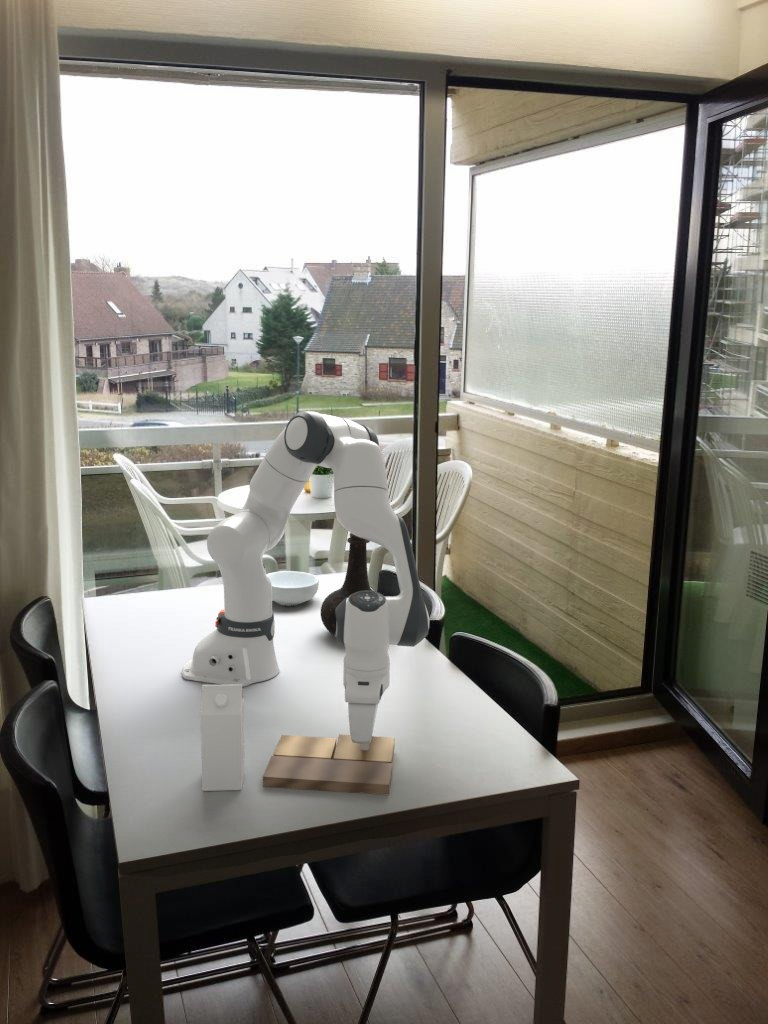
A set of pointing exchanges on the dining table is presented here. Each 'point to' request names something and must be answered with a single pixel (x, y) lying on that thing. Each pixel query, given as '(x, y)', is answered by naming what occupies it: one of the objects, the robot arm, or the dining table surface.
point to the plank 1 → (306, 747)
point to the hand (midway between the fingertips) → (365, 742)
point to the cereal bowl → (292, 587)
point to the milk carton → (222, 737)
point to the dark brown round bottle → (348, 582)
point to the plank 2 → (377, 751)
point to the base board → (328, 775)
